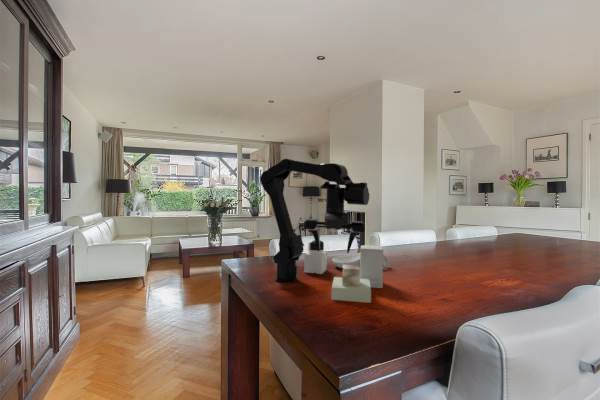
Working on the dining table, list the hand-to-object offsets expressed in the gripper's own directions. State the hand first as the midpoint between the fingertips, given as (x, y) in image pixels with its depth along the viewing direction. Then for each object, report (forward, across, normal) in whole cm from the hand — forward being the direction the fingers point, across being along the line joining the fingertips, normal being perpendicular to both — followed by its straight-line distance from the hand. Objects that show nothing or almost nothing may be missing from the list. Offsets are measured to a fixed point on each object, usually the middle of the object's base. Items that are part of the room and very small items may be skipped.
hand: (333, 252), depth 95 cm
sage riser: (+12, +6, -5) cm, 14 cm away
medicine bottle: (+12, -7, +20) cm, 24 cm away
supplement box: (+12, +13, +7) cm, 19 cm away
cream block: (+8, +6, -6) cm, 11 cm away
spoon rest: (+12, +10, +30) cm, 34 cm away
